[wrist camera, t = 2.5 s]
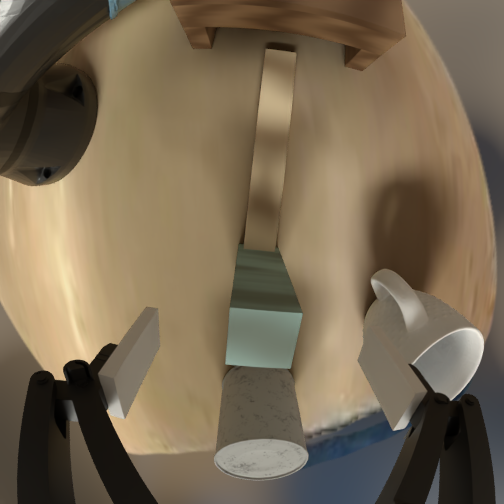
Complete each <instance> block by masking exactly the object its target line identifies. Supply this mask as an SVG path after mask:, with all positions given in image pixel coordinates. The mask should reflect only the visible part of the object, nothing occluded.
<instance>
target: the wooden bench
mask: <svg viewBox="0 0 504 504" xmlns="http://www.w3.org/2000/svg"><path fill="white" fill-rule="evenodd" d="M170 2H171V4H172V6H173V8H174V10H175V12H176V14H177V16H178V18H179V21H180V23H181V25H182V27H183V29H184V31H185V33H186V35H187V37H188V39H189V41H190V43H191V45H192V47H193V49H212V45H213V39H214V34H215V29H216V27H235V28H251V29H262V30H271V31H279V32H287V33H293V34H299V35H305V36H310V37H315V38H320V39H324V40H329V41H333V42H337V43H341V44H345V67H349V68H353V69H356V70H360V71H363V70H364V69H365V68H366V67H368V66H369V65H370V64H371V63H372V62H374V61H375V60H376V59H377V58H379V57H380V56H381V55H382V54H384V53H385V52H386V51H387V50H389V49H390V48H391V47H392V46H394V45H395V44H396V43H398V42H399V41H400V40H401V39H403V38H404V37H405V36H406V31H405V23H404V15H403V9H402V2H401V0H170Z"/></svg>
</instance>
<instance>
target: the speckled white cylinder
mask: <svg viewBox="0 0 504 504" xmlns="http://www.w3.org/2000/svg"><path fill="white" fill-rule="evenodd" d="M307 460H308V452H307V449H306V444H305V439H304V433H303V428H302V423H301V417H300V412H299V407H298V402H297V397H296V392H295V386H294V379H293V376H292V375H291V373H290V372H289V371H288V370H287V369H286V368H265V367H250V366H238V365H237V366H235V367H234V368H232V369H231V370H230V371H229V372H228V373H227V374H226V375H225V377H224V379H223V383H222V398H221V407H220V416H219V426H218V435H217V445H216V454H215V455H214V462H215V464H216V466H217V467H218V468H219V469H220V470H221V471H222V472H224V473H226V474H228V475H231V476H233V477H237V478H240V479H246V480H271V479H277V478H280V477H284V476H287V475H290V474H292V473H294V472H296V471H298V470H299V469H301V468H302V467H303V466H304V465H305V464H306V462H307Z"/></svg>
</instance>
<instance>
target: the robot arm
mask: <svg viewBox="0 0 504 504" xmlns="http://www.w3.org/2000/svg"><path fill="white" fill-rule="evenodd" d="M134 1H136V0H0V175H1V176H4V177H6V178H9V179H12V180H14V181H17V182H19V183H22V184H25V185H28V186H40V185H48V184H52V183H55V182H57V181H59V180H61V179H62V178H63V177H65V176H66V175H67V174H68V173H69V172H70V171H71V170H72V169H73V168H74V167H75V166H76V165H77V163H78V162H79V160H80V159H81V157H82V156H83V154H84V152H85V150H86V148H87V146H88V144H89V142H90V139H91V136H92V133H93V130H94V126H95V122H96V115H97V97H96V92H95V88H94V85H93V83H92V81H91V79H90V78H89V77H88V76H87V75H86V74H85V73H84V72H83V71H81V70H79V69H77V68H75V67H73V66H71V65H67V64H55V63H56V62H57V61H58V60H59V59H60V58H61V57H62V56H63V55H64V54H65V53H66V52H68V51H69V50H70V49H71V48H72V47H73V46H74V45H76V44H77V43H78V42H79V41H80V40H82V39H83V38H84V37H85V36H87V35H88V34H89V33H91V32H92V31H93V30H94V29H96V28H97V27H98V26H100V25H101V24H103V23H104V22H105V21H107V20H108V19H113V18H115V17H116V16H117V15H118V12H120V11H121V10H123V9H124V8H125V7H127V6H128V5H130V4H131V3H133V2H134ZM159 347H160V336H159V318H158V308H151V307H146V308H145V309H144V311H143V312H142V313H141V315H140V316H139V317H138V319H137V320H136V321H135V323H134V324H133V325H132V327H131V328H130V329H129V331H128V332H127V334H126V335H125V336H124V338H123V339H122V340H121V342H120V343H119V345H116V344H112V343H109V344H108V345H106V346H104V347H103V348H102V349H101V350H100V352H99V353H98V354H97V356H96V357H95V359H94V360H93V361H92V362H91V363H90V365H89V364H88V363H87V362H85V361H83V360H72V361H69V362H68V363H67V364H65V366H64V367H63V372H64V375H65V378H66V381H62V380H55V379H54V376H53V375H52V373H50V372H48V371H38V372H36V373H34V374H33V375H32V376H31V378H30V382H29V386H28V391H27V396H26V401H25V406H24V412H23V418H22V426H21V433H20V441H19V453H18V473H17V494H18V495H17V497H18V504H76V503H75V497H74V490H73V482H72V472H71V459H70V437H69V436H70V435H69V434H70V433H69V432H70V431H69V421H78V422H79V425H80V428H81V431H82V433H83V436H84V439H85V441H86V444H87V447H88V450H89V452H90V455H91V457H92V459H93V462H94V464H95V466H96V469H97V471H98V473H99V475H100V477H101V480H102V481H103V483H104V486H105V488H106V490H107V492H108V494H109V496H110V497H111V499H112V501H113V503H114V504H158V503H157V501H156V500H155V498H154V497H153V495H152V494H151V492H150V491H149V489H148V488H147V486H146V485H145V483H144V482H143V480H142V479H141V477H140V475H139V473H138V472H137V470H136V468H135V467H134V465H133V463H132V462H131V460H130V458H129V456H128V454H127V452H126V451H125V449H124V447H123V445H122V443H121V441H120V439H119V437H118V435H117V433H116V431H115V429H114V427H113V425H112V422H111V420H110V418H109V416H108V414H107V409H109V412H110V415H111V416H115V417H118V418H122V419H125V418H126V416H127V414H128V412H129V409H130V407H131V405H132V403H133V401H134V399H135V397H136V394H137V392H138V390H139V388H140V386H141V384H142V382H143V380H144V378H145V376H146V373H147V371H148V369H149V367H150V365H151V363H152V361H153V359H154V357H155V355H156V353H157V351H158V349H159ZM358 362H359V364H360V366H361V368H362V370H363V372H364V374H365V376H366V378H367V380H368V382H369V383H370V385H371V387H372V389H373V391H374V393H375V395H376V397H377V399H378V401H379V403H380V405H381V407H382V409H383V411H384V413H385V415H386V417H387V419H388V421H389V423H390V426H391V428H392V430H393V431H394V430H399V429H404V428H405V427H406V425H407V424H408V422H409V421H410V422H411V424H412V427H411V428H410V429H409V431H408V432H407V434H406V435H405V437H404V439H405V438H406V440H405V442H404V445H403V447H402V450H401V452H400V455H399V457H398V459H397V461H396V463H395V466H394V468H393V470H392V472H391V474H390V476H389V478H388V480H387V482H386V484H385V486H384V488H383V490H382V492H381V494H380V495H379V497H378V499H377V501H376V503H375V504H425V502H426V499H427V496H428V494H429V491H430V488H431V485H432V482H433V479H434V476H435V472H436V469H437V466H438V462H439V458H440V481H439V499H438V500H439V501H438V504H496V502H495V486H494V475H493V467H492V460H491V454H490V448H489V442H488V437H487V433H486V428H485V423H484V419H483V416H482V411H481V408H480V404H479V401H478V399H477V398H476V397H475V396H473V395H470V394H464V395H463V396H462V397H461V399H460V400H459V401H450V399H449V398H448V397H447V396H446V395H445V394H443V393H439V392H437V393H435V391H434V390H433V389H432V387H431V386H430V385H429V383H428V382H427V381H426V379H424V376H423V375H421V372H420V371H419V370H418V369H417V368H416V367H415V366H414V365H412V364H408V363H407V362H406V361H405V359H404V358H403V357H402V355H401V354H400V353H399V351H398V350H397V349H396V347H395V346H394V345H393V343H392V342H391V341H390V340H389V338H388V337H387V336H386V334H385V333H384V332H383V330H382V329H381V328H380V327H379V326H369V328H368V331H367V334H366V337H365V340H364V343H363V346H362V349H361V352H360V355H359V358H358Z"/></svg>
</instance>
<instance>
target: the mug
mask: <svg viewBox="0 0 504 504" xmlns="http://www.w3.org/2000/svg"><path fill="white" fill-rule="evenodd" d="M371 284H372V287H373V290H374V292H375V294H376V296H377V299H376V300H375V301H374V302H373V303H372V305H371V306H370V308H369V310H368V312H367V314H366V317H365V320H364V325H363V343H364V340H365V337H366V334H367V331H368V328H369V326H379V327H380V328H381V329H382V330H383V332H384V333H385V334H386V336H387V337H388V338H389V340H390V341H391V342H392V343H393V345H394V346H395V347H396V349H397V350H398V351H399V353H400V354H401V355H402V357H403V358H404V359H405V361H406V362H407V363H408V364H412V365H414V366H415V367H416V368H417V369H418V370H419V371H420V372H421V375H423V376H424V379H426V381H427V382H428V383H429V385H430V386H431V387H432V389H433V390H434V391H435V393H437V392H439V393H443V394H445V395H446V396H447V397H448V398H449V399H450V401H451V400H452V399H453V398H454V397H456V396H457V395H458V394H459V393H460V392H461V391H462V390H463V388H464V387H465V386H466V385H467V384H468V382H469V381H470V380H471V378H472V377H473V375H474V373H475V372H476V370H477V368H478V366H479V363H480V360H481V358H482V354H483V350H484V340H483V336H482V333H481V332H480V331H479V330H478V329H477V328H476V327H475V326H474V325H473V324H472V323H471V322H469V321H468V320H467V319H466V318H465V317H464V316H463V315H461V314H460V313H458V312H457V311H456V310H455V309H454V308H451V307H450V306H449V305H448V304H446V303H444V302H443V301H442V300H441V299H437V298H436V297H435V296H432V295H429V294H428V293H424V292H421V291H416V290H414V289H412V288H411V287H410V286H409V284H408V283H407V282H406V281H405V280H404V279H403V278H402V277H401V276H399V275H398V274H397V273H395V272H394V271H392V270H389V269H382V270H379V271H377V272H376V273H375V274H374V275H373V276H372V277H371Z"/></svg>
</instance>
